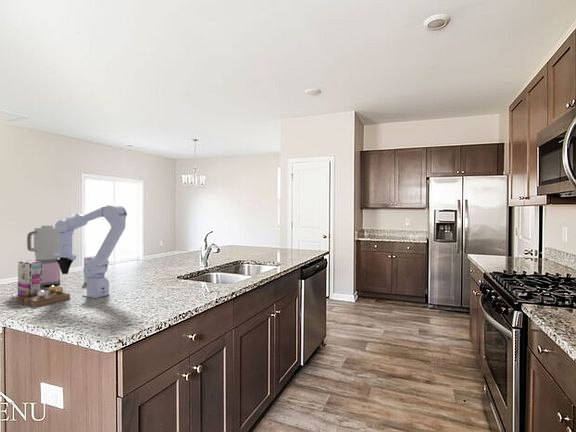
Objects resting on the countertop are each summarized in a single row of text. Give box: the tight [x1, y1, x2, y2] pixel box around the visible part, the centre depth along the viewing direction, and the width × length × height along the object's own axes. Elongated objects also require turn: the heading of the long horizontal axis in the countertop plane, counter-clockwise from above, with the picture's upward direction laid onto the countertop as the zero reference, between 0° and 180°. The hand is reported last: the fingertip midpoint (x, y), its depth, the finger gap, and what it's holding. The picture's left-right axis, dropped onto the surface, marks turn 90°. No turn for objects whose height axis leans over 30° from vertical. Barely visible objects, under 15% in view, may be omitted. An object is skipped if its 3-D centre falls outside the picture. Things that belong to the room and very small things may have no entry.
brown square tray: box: [16, 290, 71, 308], centre depth 146 cm, size 14×14×2 cm
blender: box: [26, 224, 61, 288], centre depth 176 cm, size 16×12×32 cm
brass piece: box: [55, 286, 64, 294], centre depth 149 cm, size 3×3×3 cm
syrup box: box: [83, 255, 96, 284], centre depth 187 cm, size 6×6×14 cm
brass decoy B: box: [47, 285, 57, 293], centre depth 151 cm, size 3×3×3 cm
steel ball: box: [37, 289, 47, 298], centre depth 142 cm, size 3×3×3 cm
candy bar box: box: [17, 259, 42, 297], centre depth 153 cm, size 11×5×16 cm, turn 62°
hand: (64, 273), depth 158 cm, fingers closed
